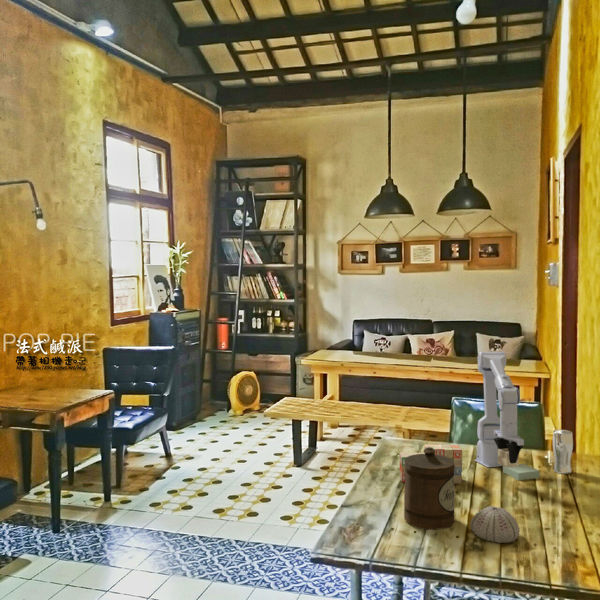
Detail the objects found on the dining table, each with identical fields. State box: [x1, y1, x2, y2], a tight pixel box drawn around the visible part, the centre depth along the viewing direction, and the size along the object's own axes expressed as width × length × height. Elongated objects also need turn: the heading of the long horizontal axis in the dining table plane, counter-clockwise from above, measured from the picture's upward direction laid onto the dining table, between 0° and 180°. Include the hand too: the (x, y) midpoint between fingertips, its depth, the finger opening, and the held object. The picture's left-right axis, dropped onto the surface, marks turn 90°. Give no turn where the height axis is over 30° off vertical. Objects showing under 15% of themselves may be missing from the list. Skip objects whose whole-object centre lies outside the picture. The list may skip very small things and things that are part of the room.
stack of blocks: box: [399, 444, 463, 484], centre depth 221 cm, size 21×6×12 cm, turn 87°
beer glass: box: [552, 429, 574, 475], centre depth 230 cm, size 7×7×15 cm
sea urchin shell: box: [469, 505, 521, 544], centre depth 173 cm, size 13×14×8 cm
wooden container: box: [403, 447, 456, 530], centre depth 184 cm, size 15×15×22 cm
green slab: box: [502, 463, 540, 481], centre depth 226 cm, size 9×9×3 cm
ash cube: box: [498, 448, 520, 467], centre depth 216 cm, size 5×5×5 cm
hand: (508, 460), depth 216 cm, fingers closed on ash cube, 5 cm apart
